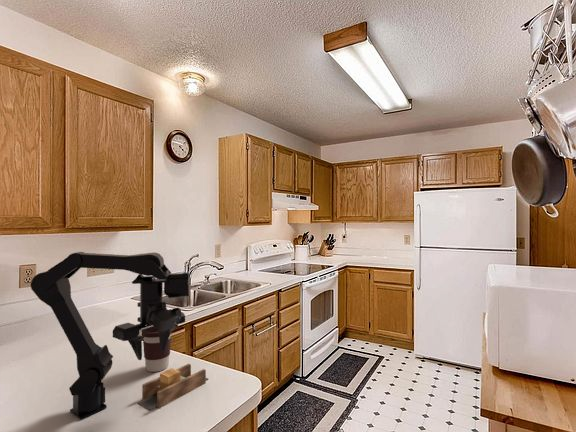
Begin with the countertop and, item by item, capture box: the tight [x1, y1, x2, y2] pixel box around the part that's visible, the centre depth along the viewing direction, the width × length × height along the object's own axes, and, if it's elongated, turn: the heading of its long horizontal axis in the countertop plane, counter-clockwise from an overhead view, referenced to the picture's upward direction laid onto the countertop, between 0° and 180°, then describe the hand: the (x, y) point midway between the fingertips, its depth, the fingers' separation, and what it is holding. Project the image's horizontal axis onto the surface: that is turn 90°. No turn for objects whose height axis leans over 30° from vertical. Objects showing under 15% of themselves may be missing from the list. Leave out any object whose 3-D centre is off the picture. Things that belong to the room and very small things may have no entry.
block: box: [159, 368, 180, 389], centre depth 93 cm, size 4×4×4 cm
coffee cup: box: [141, 325, 172, 373], centre depth 110 cm, size 10×10×15 cm
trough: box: [137, 363, 209, 411], centre depth 95 cm, size 20×8×4 cm, turn 146°
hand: (151, 355), depth 89 cm, fingers open, 7 cm apart
